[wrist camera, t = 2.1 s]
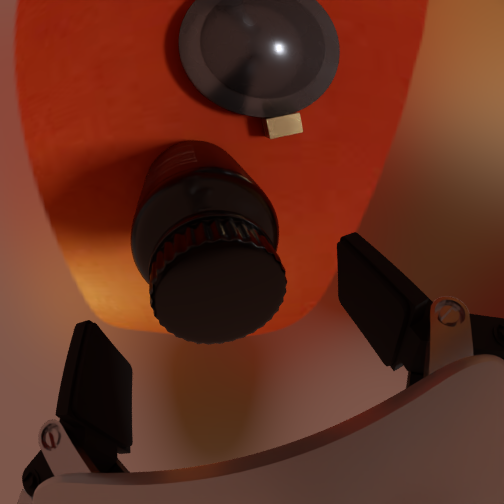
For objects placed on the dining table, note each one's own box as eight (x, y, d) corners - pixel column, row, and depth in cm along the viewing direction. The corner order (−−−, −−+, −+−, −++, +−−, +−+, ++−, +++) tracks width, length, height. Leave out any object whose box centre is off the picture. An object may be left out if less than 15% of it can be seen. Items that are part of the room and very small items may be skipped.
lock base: (161, -19, 10) (160, -25, 9) (310, -32, 11) (318, -37, 10) (205, 152, 18) (207, 156, 17) (344, 121, 19) (353, 123, 18)
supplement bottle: (147, 230, 19) (133, 364, 10) (146, 139, 16) (97, 204, 6) (235, 228, 21) (291, 350, 12) (245, 141, 18) (336, 206, 8)
